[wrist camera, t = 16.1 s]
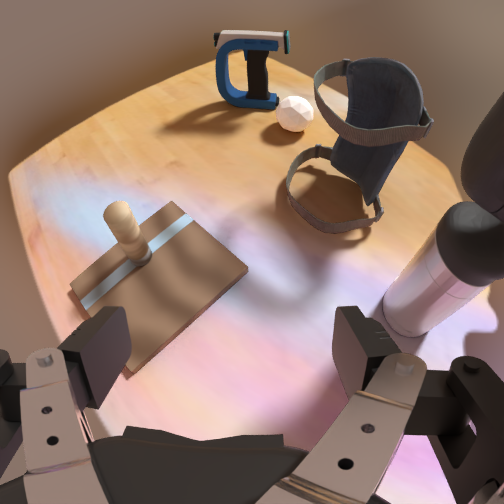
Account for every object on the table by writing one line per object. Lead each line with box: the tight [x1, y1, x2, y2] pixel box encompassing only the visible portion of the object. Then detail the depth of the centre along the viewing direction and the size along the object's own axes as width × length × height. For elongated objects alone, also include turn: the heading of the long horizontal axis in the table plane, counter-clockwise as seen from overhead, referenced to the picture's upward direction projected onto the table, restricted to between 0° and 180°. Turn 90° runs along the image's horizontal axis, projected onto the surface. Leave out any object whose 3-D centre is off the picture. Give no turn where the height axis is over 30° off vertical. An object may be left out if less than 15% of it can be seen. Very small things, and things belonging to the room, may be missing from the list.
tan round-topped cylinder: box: [103, 201, 152, 267], centre depth 42 cm, size 4×4×11 cm
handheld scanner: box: [214, 30, 290, 110], centre depth 61 cm, size 4×16×19 cm, turn 82°
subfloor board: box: [70, 201, 248, 374], centre depth 46 cm, size 22×18×2 cm
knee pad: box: [286, 57, 434, 234], centre depth 44 cm, size 18×20×25 cm
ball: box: [276, 96, 313, 132], centre depth 61 cm, size 8×8×8 cm
